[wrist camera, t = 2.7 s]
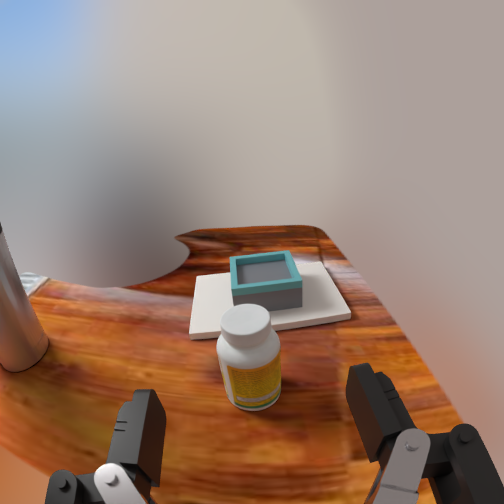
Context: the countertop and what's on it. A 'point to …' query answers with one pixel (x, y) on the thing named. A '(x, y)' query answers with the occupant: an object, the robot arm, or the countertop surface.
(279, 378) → the supplement bottle
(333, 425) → the countertop surface
